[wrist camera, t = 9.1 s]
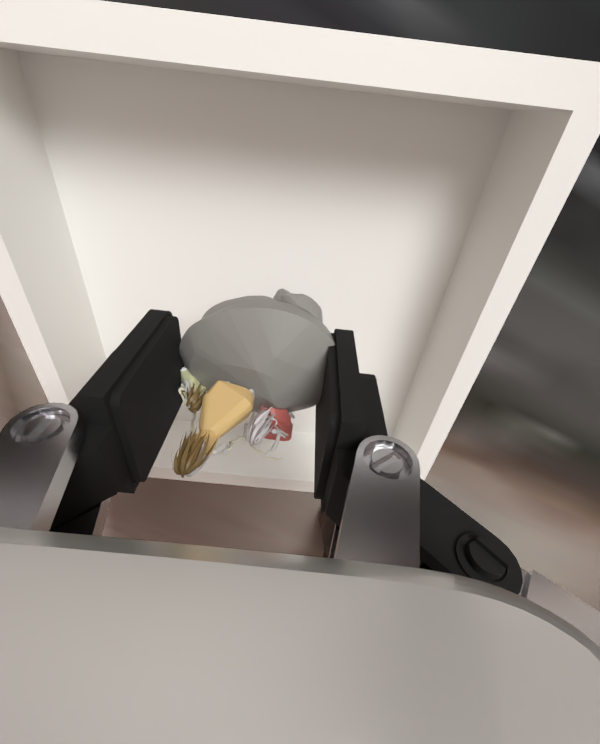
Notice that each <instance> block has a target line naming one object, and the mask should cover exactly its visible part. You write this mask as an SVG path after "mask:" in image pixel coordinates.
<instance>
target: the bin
mask: <svg viewBox="0 0 600 744" xmlns="http://www.w3.org/2000/svg"><path fill="white" fill-rule="evenodd" d="M599 134H600V62H593V61H585V60H576V59H568V58H560V57H552V56H544V55H536V54H528V53H520V52H512V51H504V50H496V49H488V48H480V47H472V46H463V45H455V44H447V43H439V42H431V41H423V40H415V39H407V38H399V37H391V36H383V35H375V34H367V33H359V32H350V31H342V30H334V29H326V28H318V27H310V26H302V25H294V24H286V23H278V22H270V21H262V20H254V19H246V18H237V17H229V16H221V15H213V14H205V13H197V12H189V11H181V10H173V9H165V8H157V7H149V6H141V5H133V4H124V3H116V2H108V1H100V0H0V295H1V297H2V299H3V302H4V304H5V306H6V308H7V310H8V313H9V315H10V317H11V319H12V322H13V324H14V326H15V328H16V330H17V333H18V335H19V337H20V339H21V341H22V344H23V346H24V348H25V350H26V352H27V355H28V357H29V359H30V361H31V363H32V366H33V368H34V370H35V372H36V374H37V377H38V379H39V381H40V383H41V385H42V388H43V390H44V392H45V394H46V397H47V399H48V401H49V403H64V404H69V403H70V402H71V400H72V399H73V398H74V397H75V396H76V395H77V393H78V392H79V391H80V390H81V389H82V388H83V386H84V385H85V384H86V383H87V382H88V381H89V379H90V378H91V377H92V376H93V375H94V373H95V372H96V371H97V370H98V369H99V368H100V366H101V365H102V364H103V363H104V362H105V361H106V359H107V358H108V357H109V356H110V355H111V353H112V352H113V351H115V350H116V349H117V347H118V346H119V345H120V344H121V343H122V342H123V340H124V339H125V338H126V337H127V336H128V334H129V333H130V332H131V331H132V330H133V329H134V327H135V326H136V325H137V324H138V323H139V322H140V320H141V319H142V318H143V317H144V316H145V314H146V313H147V312H148V311H149V310H150V309H155V310H164V311H170V312H171V313H172V315H173V316H176V317H178V320H179V327H180V334H181V339H182V337H183V335H184V334H185V332H186V331H187V330H188V328H189V327H190V326H192V325H193V324H194V323H196V322H198V321H199V320H201V319H202V317H203V315H204V314H205V313H206V311H207V310H209V309H210V308H211V307H213V306H214V305H216V304H219V303H221V302H223V301H226V300H230V299H235V298H239V297H244V296H267V297H270V298H273V297H274V296H275V294H276V292H277V291H278V290H279V289H285V290H287V291H288V292H290V293H292V294H304V295H307V296H309V297H311V298H312V299H313V300H314V301H315V302H316V303H317V304H318V305H319V306H320V307H321V310H322V319H323V324H324V325H325V326H326V327H327V329H328V330H329V331H330V333H334V330H335V329H343V330H353V332H354V339H355V346H356V352H357V359H358V366H359V373H364V374H373V375H375V377H376V380H377V385H378V390H379V395H380V399H381V404H382V409H383V414H384V419H385V424H386V429H387V434H388V436H390V437H393V438H396V439H398V440H400V441H402V442H403V443H405V444H407V445H408V446H409V447H410V448H411V449H412V450H413V451H414V452H415V454H416V456H417V458H418V459H419V464H420V478H421V479H422V480H425V478H426V476H427V474H428V472H429V470H430V468H431V466H432V464H433V462H434V460H435V458H436V456H437V455H438V453H439V451H440V449H441V447H442V445H443V443H444V441H445V439H446V437H447V435H448V433H449V431H450V429H451V427H452V425H453V423H454V421H455V419H456V417H457V415H458V413H459V411H460V409H461V407H462V405H463V403H464V401H465V399H466V397H467V395H468V393H469V391H470V389H471V387H472V385H473V383H474V381H475V379H476V377H477V375H478V373H479V371H480V369H481V367H482V366H483V364H484V362H485V360H486V358H487V356H488V354H489V352H490V350H491V348H492V346H493V344H494V342H495V340H496V338H497V336H498V334H499V332H500V330H501V328H502V326H503V324H504V322H505V320H506V318H507V316H508V314H509V312H510V310H511V308H512V306H513V304H514V302H515V300H516V298H517V296H518V294H519V292H520V290H521V288H522V286H523V284H524V282H525V280H526V278H527V276H528V275H529V273H530V271H531V269H532V267H533V265H534V263H535V261H536V259H537V257H538V255H539V253H540V251H541V249H542V247H543V245H544V243H545V241H546V239H547V237H548V235H549V233H550V231H551V229H552V227H553V225H554V223H555V221H556V219H557V217H558V215H559V213H560V211H561V209H562V207H563V205H564V203H565V201H566V199H567V197H568V195H569V193H570V191H571V189H572V187H573V186H574V184H575V182H576V180H577V178H578V176H579V174H580V172H581V170H582V168H583V166H584V164H585V162H586V160H587V158H588V156H589V154H590V152H591V150H592V148H593V146H594V144H595V142H596V140H597V138H598V136H599ZM206 393H207V391H206ZM185 401H186V403H187V401H188V400H187V399H186V398H185ZM201 407H202V406H201ZM254 413H255V414H254V416H256V415H257V414H258V413H257V412H254ZM291 413H293V415H294V416H295V419H292V418H291V423H292V424H293V429H292V436H291V439H290V440H289V441H279V443H278V445H277V447H276V449H275V451H272V450H271V451H269V452H268V453H267V454H265V453H266V452H267V451H268V450H269V449H271V447H272V446H273V444H274V442H275V441H276V440H270V439H265V438H263V439H262V441H261V442H260V443H259V444H256V445H255V444H254V445H253V447H255V448H256V449H257V450H261V451H262V452H263V453H264V454H265V456H268V457H274V458H283V459H280V460H274V459H269V458H265V457H264V456H263V455H262V453H260V452H256V451H255V450H254V449H252V448H251V446H250V444H249V442H247V441H246V440H245V439H243V438H239V439H238V440H237V441H236V442H234V443H232V449H231V450H230V451H228V452H226V454H218V455H212V454H211V455H210V457H209V456H208V457H209V458H208V460H207V461H206V462H205V464H204V465H203V467H202V468H201V469H200V470H199V471H198V472H197V473H196V474H195V475H193V476H191V477H187V476H186V475H184V478H182V477H181V475H177V474H176V473H175V472H174V470H173V469H174V458H175V455H176V452H177V450H178V452H177V457H178V454H179V448H180V442H181V446H182V443H183V440H184V438H185V434H186V437H187V435H188V434H189V433H191V432H190V431H191V421H192V419H193V413H192V412H191V411H189V410H188V408H187V407H186V406H185V404H184V402H182V405H181V407H180V409H179V411H178V413H177V415H176V417H175V420H174V422H173V424H172V426H171V428H170V430H169V432H168V434H167V437H166V439H165V441H164V443H163V445H162V447H161V449H160V452H159V454H158V456H157V458H156V460H155V462H154V464H153V466H152V469H151V471H150V473H149V475H148V477H152V478H163V479H173V480H184V481H195V482H206V483H217V484H228V485H239V486H250V487H260V488H271V489H282V490H293V491H304V492H314V471H315V416H316V405H315V406H313V407H310V408H307V409H303V410H299V411H294V412H291ZM200 414H201V409H200V410H199V411H197V413H196V419H195V421H194V423H193V424H194V427H193V430H194V432H195V430H196V427H197V430H196V434H197V433H198V432H199V421H200ZM252 414H253V412H251V413H250V415H249V417H248V418H246V419H245V420H244V421H242V422H241V423H240V424H238V425H237V426H235V427H234V428H233V429H231V430H230V431H229V432H227V433H226V434H225V435H223V436H222V437H220V438H219V439H218V442H217V444H216V447H217V446H219V445H220V444H222V443H226V444H227V445H228V448H229V447H230V445H229V442H230V441H232V440H235V439H236V438H237V437H238V436H243V432H244V424H245V423H248V422H249V420H250V418H251V416H252ZM254 418H255V417H254ZM254 418H253V419H254ZM252 422H253V421H252ZM251 424H252V423H251ZM183 433H184V434H183ZM182 436H183V437H182ZM181 439H182V441H181ZM216 447H215V448H216ZM173 448H174V449H173ZM180 449H181V448H180ZM171 453H172V457H171ZM203 459H204V458H203ZM172 464H173V466H172Z"/></svg>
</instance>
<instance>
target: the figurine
mask: <svg viewBox="0 0 600 744" xmlns="http://www.w3.org/2000/svg"><path fill="white" fill-rule="evenodd" d="M334 345H335V343H334V340H333V337H332V335H331V333H330V331H329V330H328V329H327V327H326V326H325V325H324V324H323V319H322V310H321V307H320V306H319V305H318V304H317V303H316V302H315V301H314V300H313V299H312V298H311V297H309V296H307V295H304V294H292V293H290V292H288V291H287V290H285V289H279V290H278V291H277V292H276V294H275V296H274V297H273V298H270V297H267V296H244V297H239V298H235V299H230V300H226V301H223V302H221V303H219V304H216V305H214V306H213V307H211V308H210V309H209V310H207V311H206V313H205V314H204V315H203V317H202V319H201V320H199V321H198V322H196V323H194V324H193V325H192V326H190V327H189V328H188V330H187V331H186V332H185V334H184V335H183V337H182V339H181V342H180V346H179V352H180V355H181V358H182V360H183V363H184V365H185V367H182V369H181V370H180V371H181V380H182V382H183V383H181V387H180V388H179V389H178V392H179V394H180V395H181V397H182V400H183V402H184V404H185V406H186V407H187V408H188V410H189V411H191V412H192V413H193V419H192V421H191V431H190V432H191V433H189V434H188V435H187V437H186V434H185V438H184V440H183V443H182V446H181V442H180V448H181V449H180V448H179V454H178V457H177V452H178V450H177V452H176V455H175V458H174V469H173V470H174V472H175V473H176V474H177V475H181V477H182V478H184V475H186V476H187V477H191V476H193V475H195V474H196V473H197V472H198V471H199V470H200V469H201V468H202V467H203V465H204V464H205V462H206V461H207V460H208V458H209V457H210V455H211V454H212V455H218V454H226V452H228V451H230V450H231V449H232V443H234V442H236V441H237V440H238V439H239V438H243V439H245V440H246V441H247V442H249V444H250V446H251V448H252V449H254V450H255V451H256V452H260V453H262V455H263V456H264V457H265V458H269V459H274V460H280V459H283V458H274V457H268V456H265V454H267V453H268V452H269V451H271V450H272V451H275V449H276V447H277V445H278V443H279V441H289V440H290V439H291V436H292V429H293V424H292V423H291V418H292V419H295V416H294V415H293V413H291V412H294V411H299V410H303V409H307V408H310V407H313V406H315V405H317V404H318V403H319V401H320V398H321V393H322V388H323V382H324V376H325V369H326V362H327V354H328V347H329V346H334ZM181 391H182V392H181ZM184 391H185V392H184ZM206 391H207V393H206ZM183 394H184V395H183ZM184 396H185V398H186V399H187V400H188V401H187V403H186V401H185V398H184ZM201 406H202V407H201ZM200 409H201V414H200V421H199V432H198V433H197V434H196V430H197V427H196V430H195V432H194V430H193V427H194V424H193V423H194V421H195V419H196V413H197V411H199V410H200ZM251 412H253V414H252V416H251V418H250V420H249V422H248V423H245V424H244V432H243V436H238V437H237V438H236V439H235V440H232V441H230V442H229V445H230V447H229V448H228V445H227V444H226V443H222V444H220V445H219V446H217V447H216V444H217V442H218V439H219V438H220V437H222V436H223V435H225V434H226V433H227V432H229V431H230V430H231V429H233V428H234V427H235V426H237V425H238V424H240V423H241V422H242V421H244V420H245V419H246V418H248V417H249V415H250V413H251ZM254 412H257V413H258V414H257V415H256V416H254V414H255V413H254ZM254 417H255V418H254ZM253 418H254V419H253ZM252 421H253V422H252ZM251 423H252V424H251ZM183 434H184V433H183ZM182 437H183V436H182ZM263 438H265V439H270V440H276V441H275V442H274V444H273V446H272V447H271V449H269V450H268V451H267V452H266V453H265V454H264V453H263V452H262V451H261V450H257V449H256V448H255V447H253V445H254V444H255V445H256V444H259V443H260V442H261V441H262V439H263ZM181 441H182V439H181ZM215 447H216V448H215ZM173 449H174V448H173ZM208 456H209V457H208ZM171 457H172V453H171ZM203 458H204V459H203ZM172 466H173V464H172Z"/></svg>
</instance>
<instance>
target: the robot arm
mask: <svg viewBox="0 0 600 744" xmlns="http://www.w3.org/2000/svg"><path fill="white" fill-rule="evenodd" d="M331 335H332V337H333V340H334V343H335V345H334V346H329V347H328V354H327V362H326V369H325V376H324V382H323V388H322V393H321V398H320V401H319V403H318V404H317V405H316V416H315V471H314V498H315V499H321V511H323V512H326V515H327V516H328V517H329V518H330V519H331V520H332V521H333V522H334V523H335V528H334V533H333V538H332V542H331V547H330V552H329V556H328V558H323V557H313V556H303V555H293V554H283V553H273V552H262V551H252V550H242V549H232V548H221V547H211V546H200V545H190V544H179V543H168V542H158V541H147V540H136V539H125V538H114V537H104V536H102V532H103V528H104V524H105V520H106V517H107V513H108V509H109V505H110V497H112V496H114V495H116V494H117V492H125V493H134V492H135V490H136V488H137V486H138V484H139V482H144V481H145V480H146V479H147V477H148V475H149V473H150V471H151V469H152V466H153V464H154V462H155V460H156V458H157V456H158V454H159V452H160V449H161V447H162V445H163V443H164V441H165V439H166V437H167V434H168V432H169V430H170V428H171V426H172V424H173V422H174V420H175V417H176V415H177V413H178V411H179V409H180V407H181V405H182V402H183V400H182V397H181V395H180V394H179V392H178V389H179V388H180V387H181V383H183V382H182V380H181V371H180V370H181V369H182V367H185V365H184V363H183V360H182V358H181V355H180V352H179V346H180V342H181V334H180V327H179V320H178V317H176V316H173V315H172V313H171V312H170V311H164V310H155V309H150V310H149V311H148V312H147V313H146V314H145V316H144V317H143V318H142V319H141V320H140V322H139V323H138V324H137V325H136V326H135V327H134V329H133V330H132V331H131V332H130V333H129V334H128V336H127V337H126V338H125V339H124V340H123V342H122V343H121V344H120V345H119V346H118V347H117V349H116V350H115V351H113V352H112V353H111V355H110V356H109V357H108V358H107V359H106V361H105V362H104V363H103V364H102V365H101V366H100V368H99V369H98V370H97V371H96V372H95V373H94V375H93V376H92V377H91V378H90V379H89V381H88V382H87V383H86V384H85V385H84V386H83V388H82V389H81V390H80V391H79V392H78V393H77V395H76V396H75V397H74V398H73V399H72V400H71V402H70V403H69V404H64V403H46V404H41V405H37V406H34V407H31V408H29V409H26V410H24V411H22V412H20V413H19V414H17V415H16V416H14V417H13V418H12V419H10V421H9V422H8V423H7V424H6V425H5V426H4V428H3V429H2V431H1V432H0V744H600V612H599V611H597V610H596V609H594V608H593V607H591V606H590V605H588V604H587V603H585V602H583V601H582V600H580V599H579V598H577V597H576V596H574V595H572V594H571V593H569V592H568V591H566V590H565V589H563V588H561V587H560V586H558V585H557V584H555V583H554V582H552V581H550V580H549V579H547V578H546V577H544V576H543V575H541V574H539V573H538V572H536V571H535V570H532V571H531V572H529V573H528V572H527V571H525V570H524V569H522V568H520V566H519V564H518V561H517V559H516V558H515V556H514V555H513V553H512V552H511V551H510V549H509V548H508V547H507V546H506V545H505V544H504V543H503V542H502V541H501V540H500V539H498V538H497V537H496V536H495V535H493V534H492V533H491V532H489V531H488V530H487V529H486V528H484V527H483V526H482V525H480V524H479V523H478V522H476V521H475V520H474V519H473V518H471V517H470V516H469V515H467V514H466V513H465V512H464V511H462V510H461V509H460V508H458V507H457V506H456V505H455V504H453V503H452V502H451V501H449V500H448V499H447V498H445V497H444V496H443V495H442V494H440V493H439V492H438V491H436V490H435V489H434V488H433V487H431V486H430V485H429V484H427V483H426V482H425V481H424V480H422V479H421V478H420V464H419V459H418V458H417V456H416V454H415V452H414V451H413V450H412V449H411V448H410V447H409V446H408V445H407V444H405V443H403V442H402V441H400V440H398V439H396V438H393V437H390V436H388V434H387V429H386V424H385V419H384V414H383V409H382V404H381V399H380V395H379V390H378V385H377V380H376V377H375V375H373V374H364V373H359V366H358V359H357V352H356V346H355V339H354V332H353V330H343V329H335V330H334V333H331ZM181 392H182V391H181ZM184 392H185V391H184ZM183 395H184V394H183ZM184 398H185V396H184Z"/></svg>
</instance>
